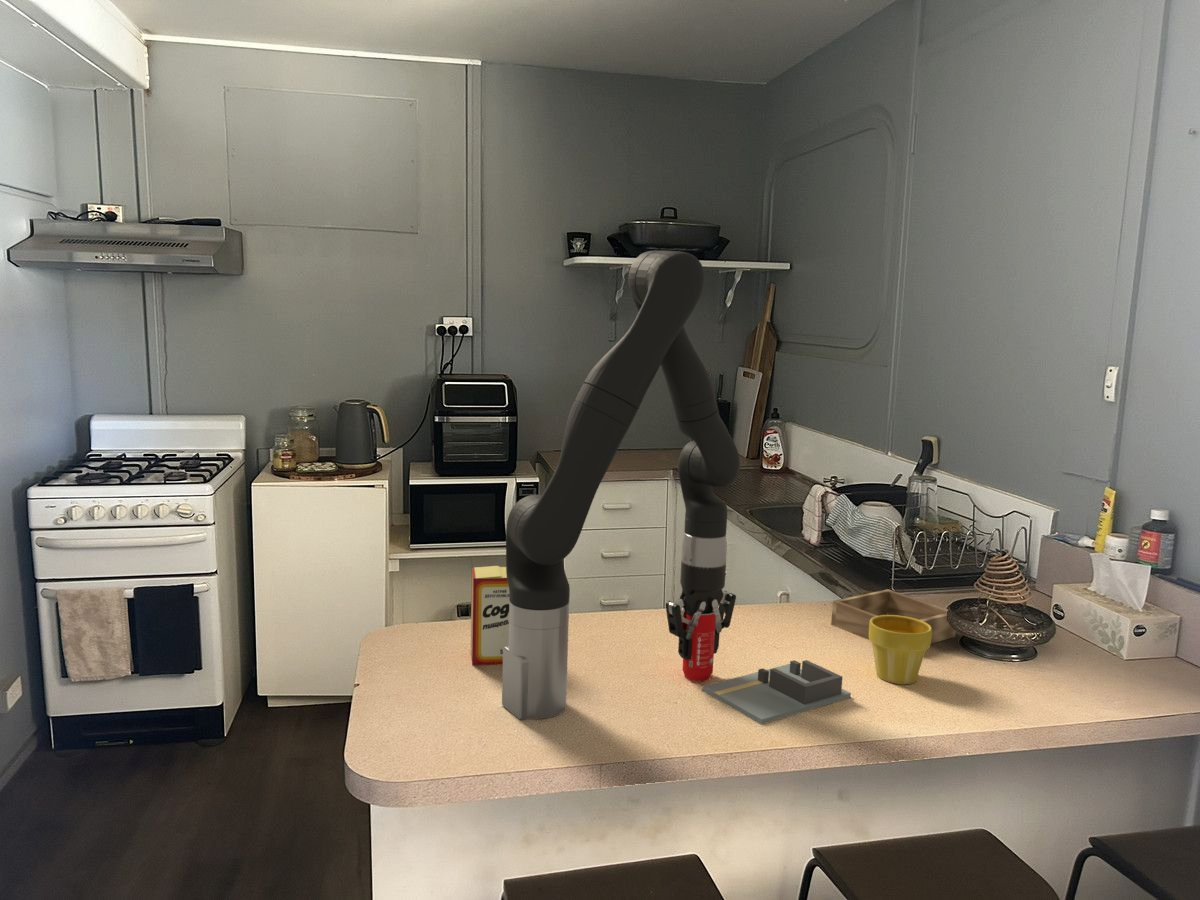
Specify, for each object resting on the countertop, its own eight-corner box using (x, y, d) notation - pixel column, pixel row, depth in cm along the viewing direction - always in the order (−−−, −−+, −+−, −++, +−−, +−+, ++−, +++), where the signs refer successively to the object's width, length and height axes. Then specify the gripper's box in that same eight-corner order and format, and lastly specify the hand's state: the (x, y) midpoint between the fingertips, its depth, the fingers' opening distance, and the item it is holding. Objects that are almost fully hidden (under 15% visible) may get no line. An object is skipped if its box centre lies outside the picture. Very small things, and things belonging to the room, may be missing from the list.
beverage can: (702, 685, 151) (706, 617, 149) (676, 677, 154) (679, 609, 152) (717, 676, 155) (721, 609, 153) (692, 668, 158) (695, 602, 157)
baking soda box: (522, 649, 164) (524, 564, 162) (526, 663, 158) (528, 575, 156) (470, 651, 163) (471, 565, 160) (472, 665, 156) (473, 576, 154)
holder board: (761, 724, 138) (762, 700, 137) (702, 690, 149) (703, 668, 148) (850, 697, 149) (852, 675, 148) (789, 668, 160) (790, 647, 159)
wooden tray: (899, 652, 170) (901, 626, 169) (831, 624, 184) (832, 600, 183) (955, 636, 179) (957, 612, 178) (885, 611, 193) (887, 589, 192)
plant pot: (873, 661, 165) (878, 609, 163) (932, 674, 160) (937, 621, 158) (858, 679, 156) (862, 625, 155) (920, 694, 151) (925, 638, 149)
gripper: (684, 570, 145) (679, 670, 147) (750, 559, 152) (744, 655, 155) (656, 559, 151) (651, 655, 153) (721, 549, 159) (716, 641, 161)
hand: (698, 654), depth 154 cm, fingers closed on beverage can, 5 cm apart
